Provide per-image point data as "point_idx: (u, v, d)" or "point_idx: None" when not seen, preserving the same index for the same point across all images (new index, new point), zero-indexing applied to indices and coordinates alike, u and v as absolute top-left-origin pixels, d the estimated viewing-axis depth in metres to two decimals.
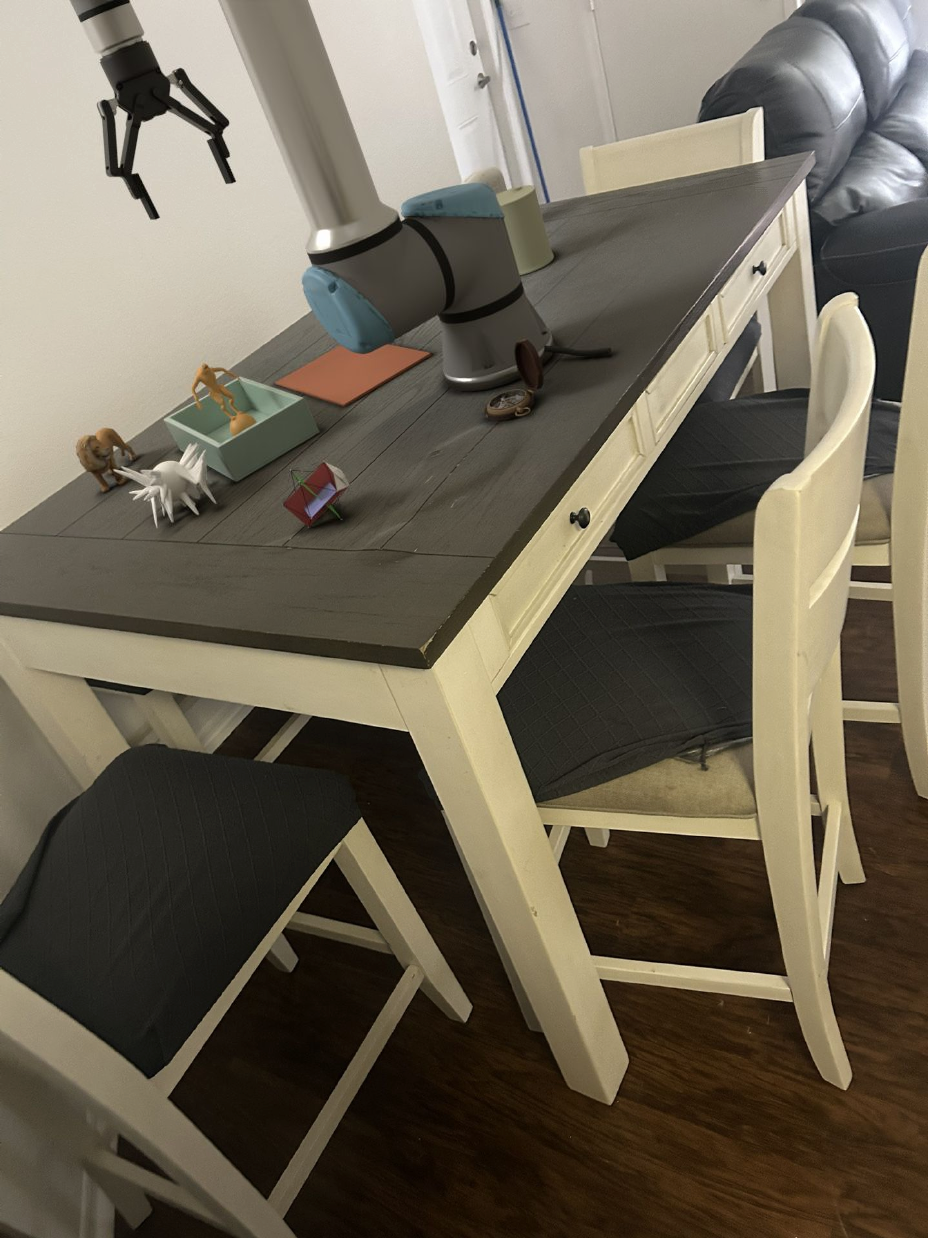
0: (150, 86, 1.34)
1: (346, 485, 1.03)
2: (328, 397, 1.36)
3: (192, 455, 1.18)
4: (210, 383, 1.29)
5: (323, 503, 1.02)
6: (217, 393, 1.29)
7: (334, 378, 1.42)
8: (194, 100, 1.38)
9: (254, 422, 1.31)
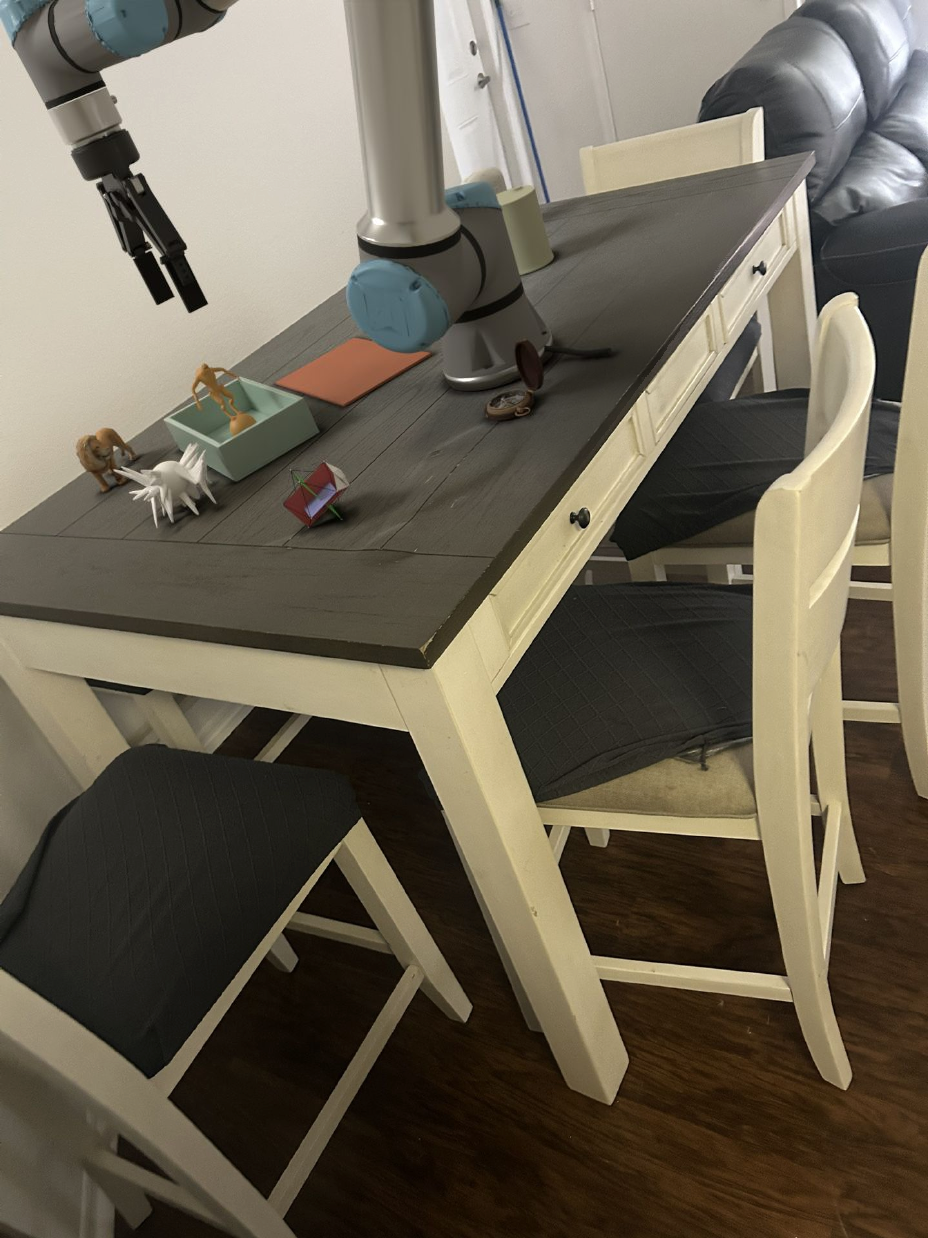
0: (114, 186, 1.14)
1: (346, 485, 1.03)
2: (328, 397, 1.36)
3: (192, 455, 1.18)
4: (210, 383, 1.29)
5: (323, 503, 1.02)
6: (217, 393, 1.29)
7: (334, 378, 1.42)
8: None
9: (254, 422, 1.31)
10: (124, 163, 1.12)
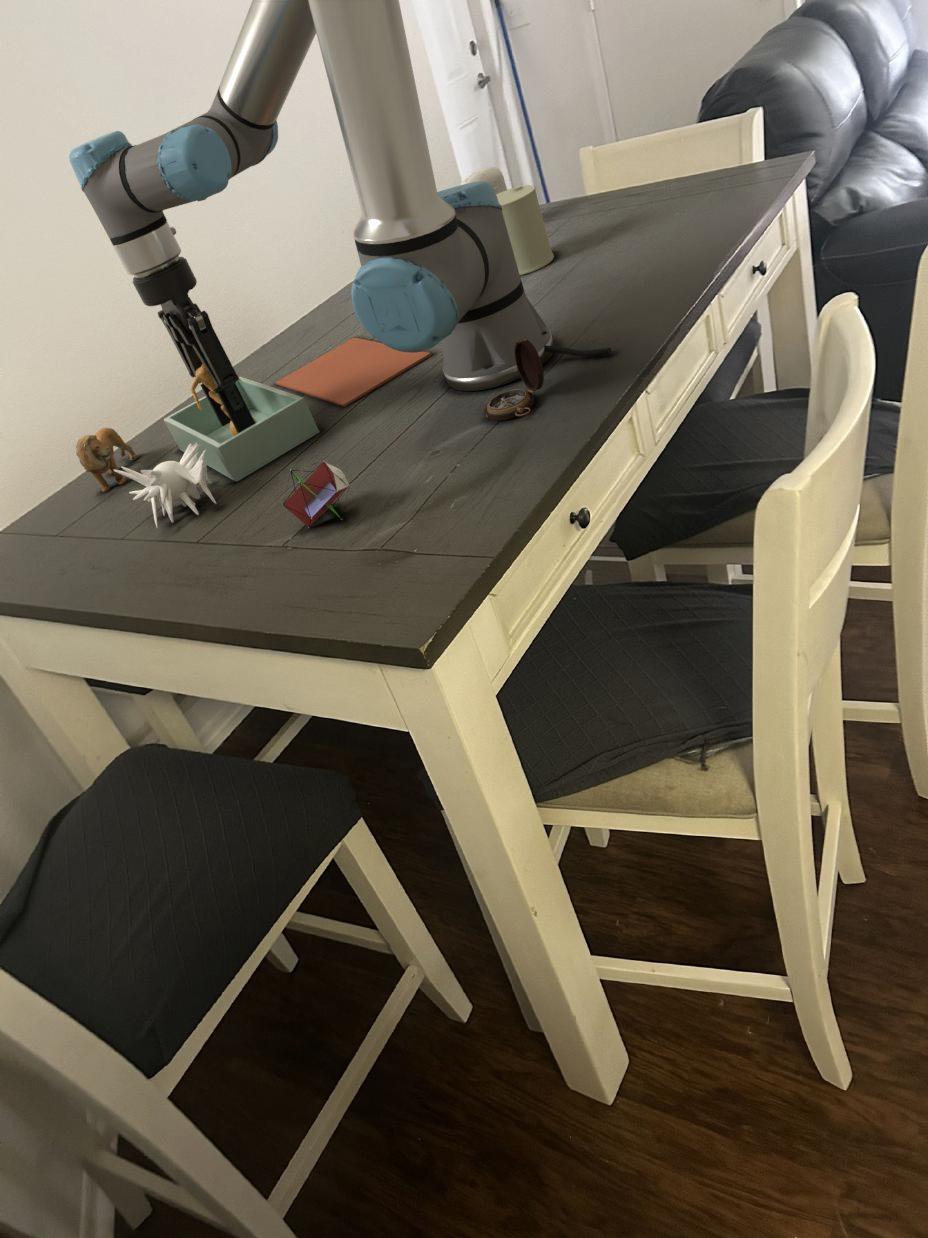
0: (173, 310, 1.21)
1: (346, 485, 1.03)
2: (328, 397, 1.36)
3: (192, 455, 1.18)
4: (210, 383, 1.29)
5: (323, 503, 1.02)
6: None
7: (334, 378, 1.42)
8: None
9: None
10: (183, 290, 1.19)
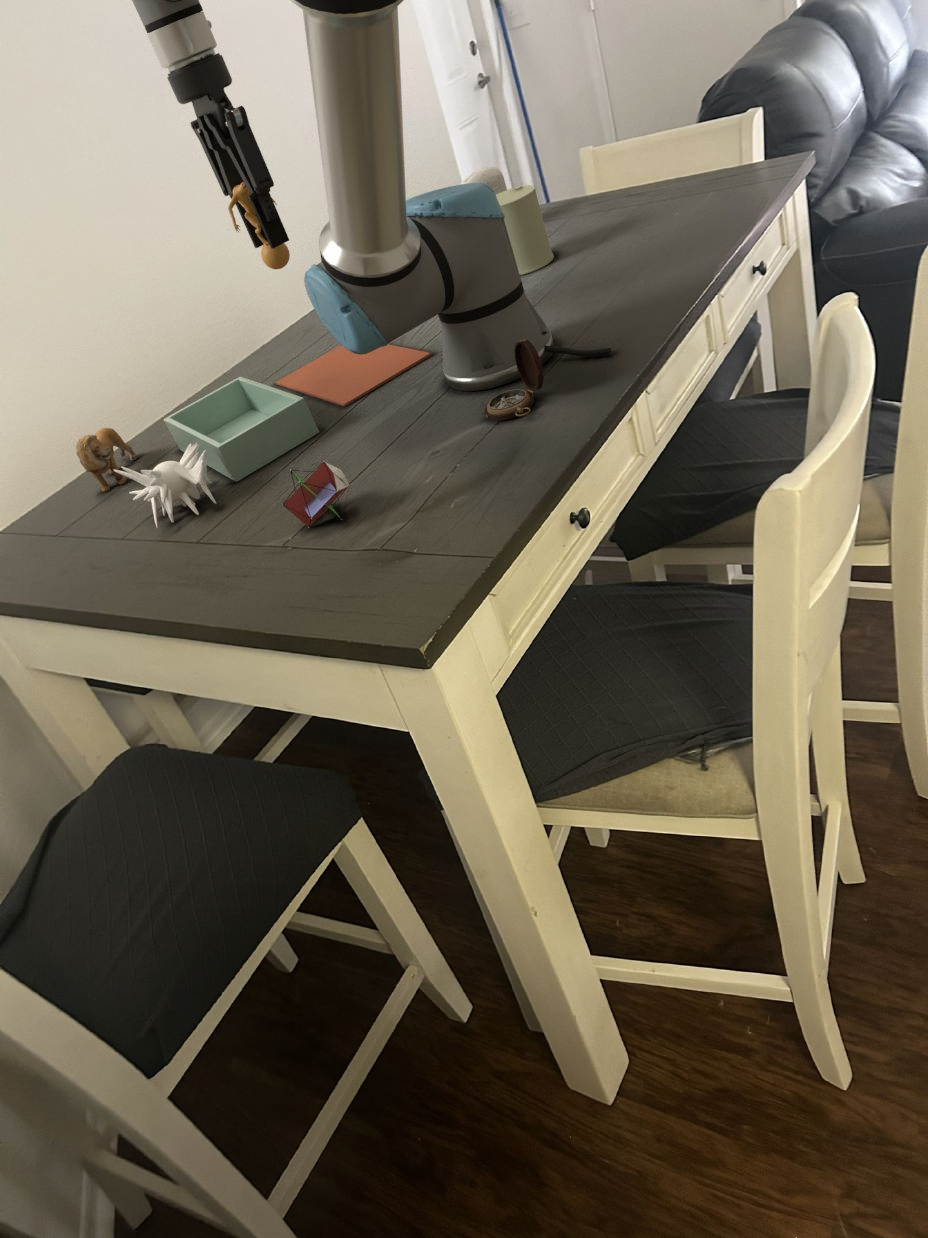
0: (208, 109, 1.19)
1: (346, 485, 1.03)
2: (328, 397, 1.36)
3: (192, 455, 1.18)
4: (247, 204, 1.27)
5: (323, 503, 1.02)
6: (253, 215, 1.28)
7: (334, 378, 1.42)
8: None
9: (287, 250, 1.31)
10: (219, 84, 1.16)
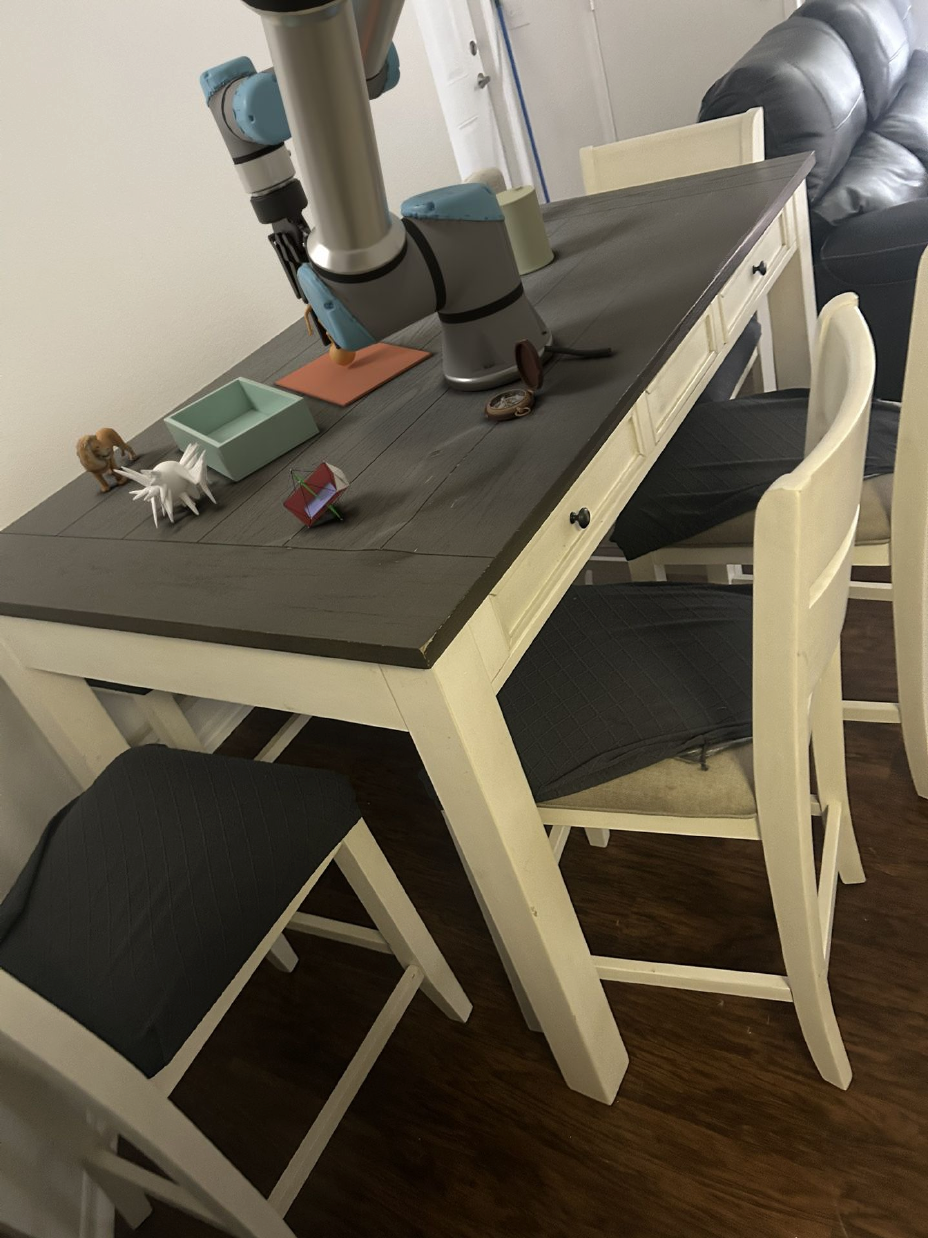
0: (286, 229, 1.30)
1: (346, 485, 1.03)
2: (328, 397, 1.36)
3: (192, 455, 1.18)
4: None
5: (323, 503, 1.02)
6: None
7: (334, 378, 1.42)
8: None
9: None
10: (298, 209, 1.28)
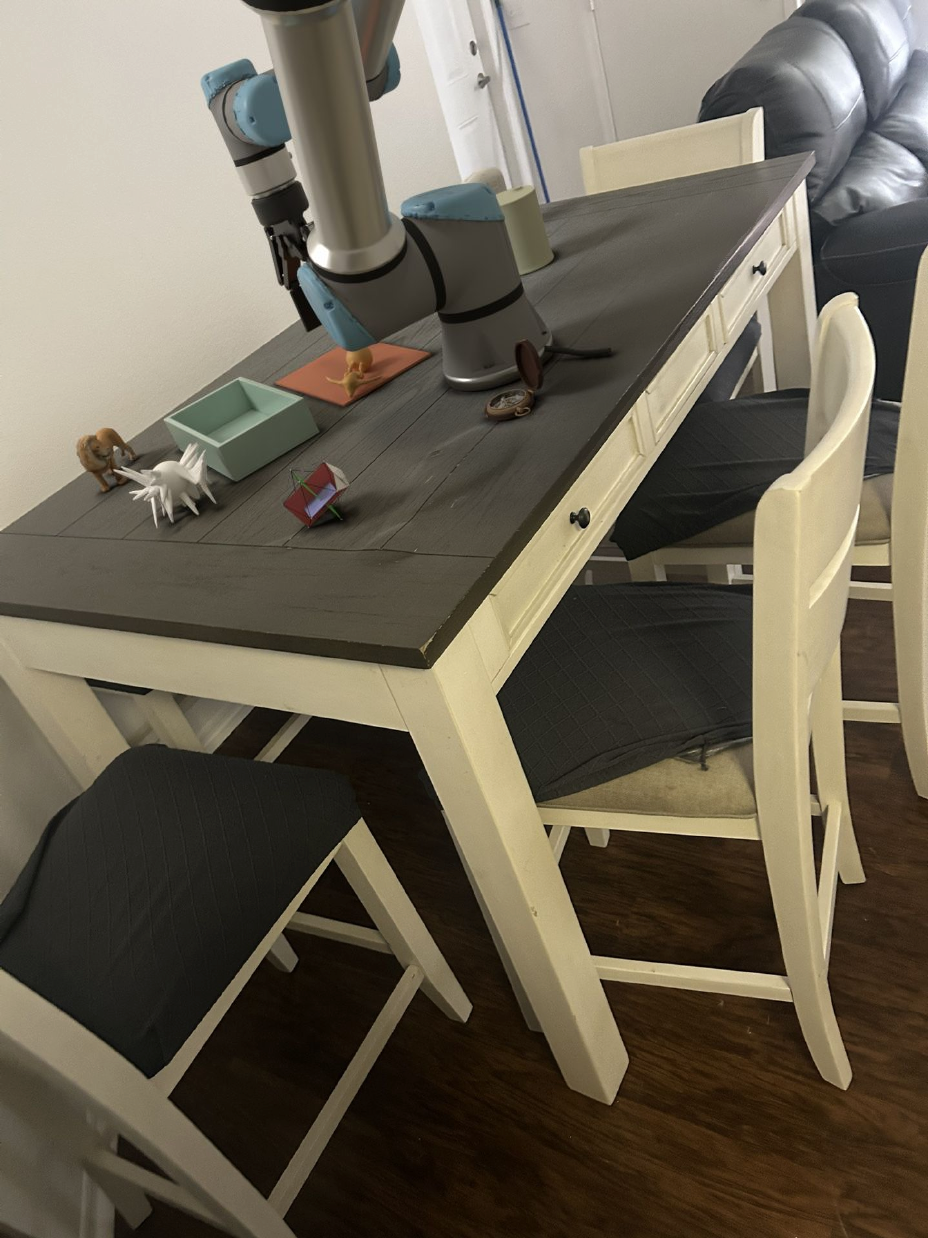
0: (287, 231, 1.30)
1: (346, 485, 1.03)
2: (328, 397, 1.36)
3: (192, 455, 1.18)
4: None
5: (323, 503, 1.02)
6: None
7: (334, 378, 1.42)
8: None
9: None
10: (299, 211, 1.28)
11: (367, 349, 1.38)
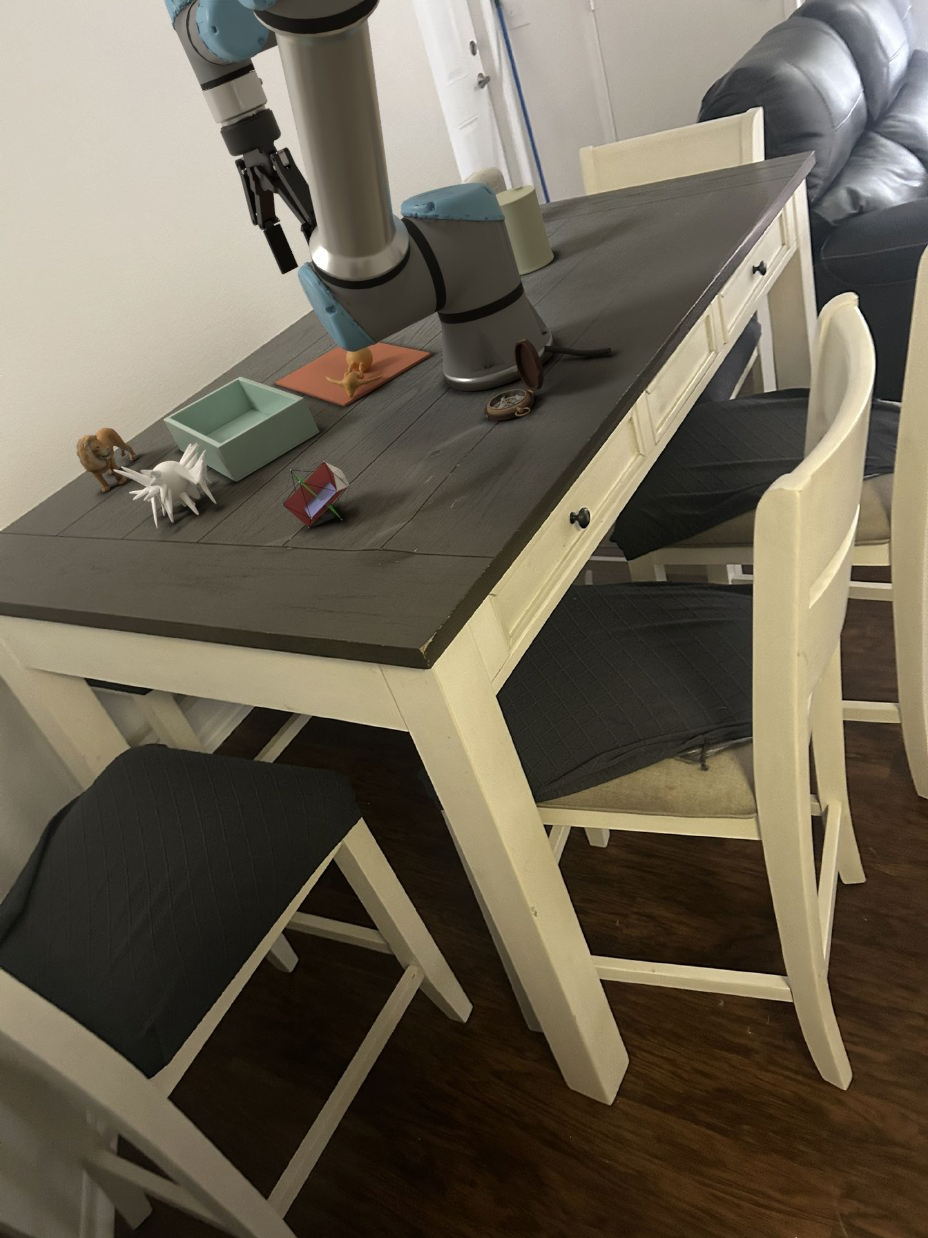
0: (258, 161, 1.25)
1: (346, 485, 1.03)
2: (328, 397, 1.36)
3: (192, 455, 1.18)
4: None
5: (323, 503, 1.02)
6: None
7: (334, 378, 1.42)
8: None
9: None
10: (270, 138, 1.22)
11: (367, 349, 1.38)
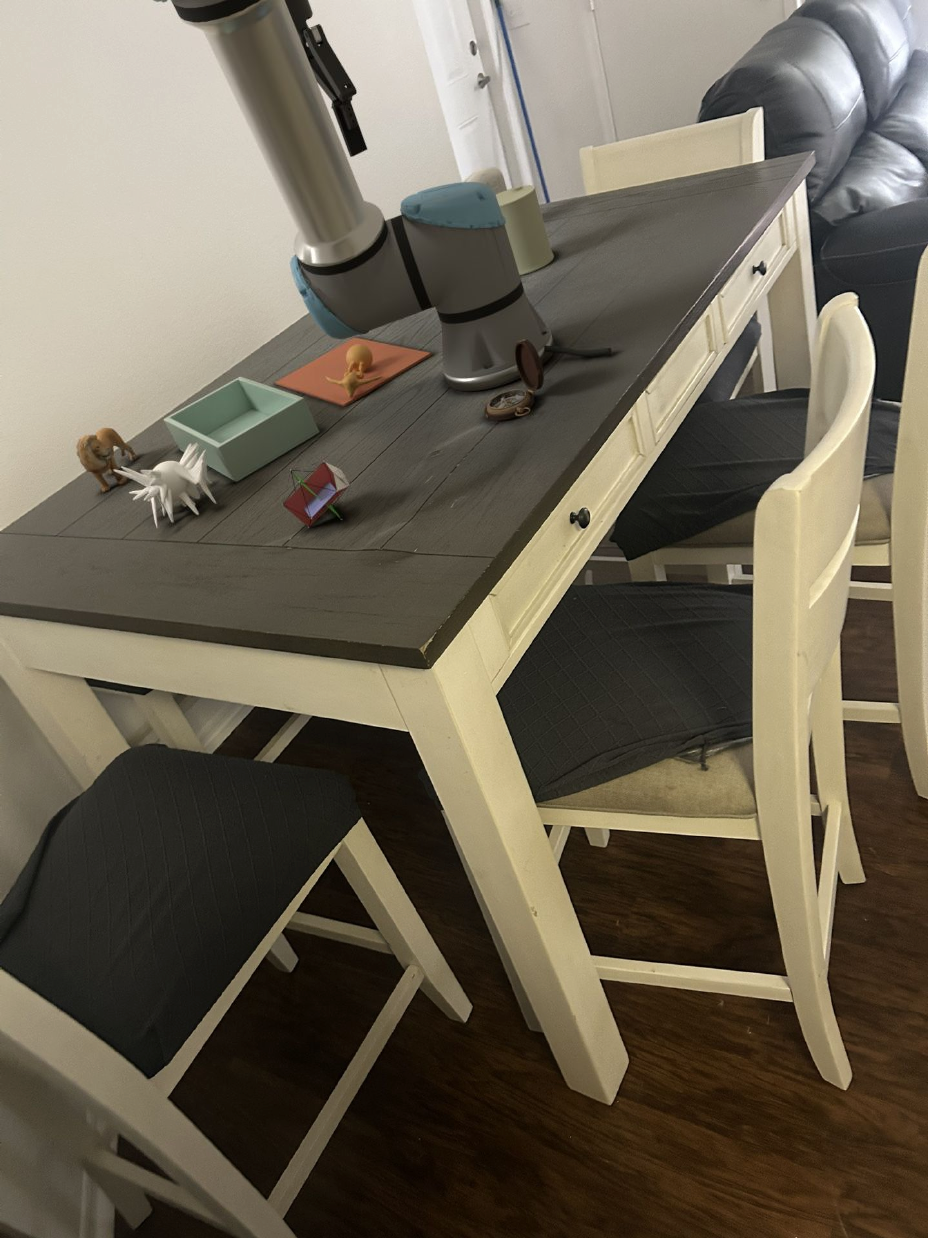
0: None
1: (346, 485, 1.03)
2: (328, 397, 1.36)
3: (192, 455, 1.18)
4: None
5: (323, 503, 1.02)
6: None
7: (334, 378, 1.42)
8: None
9: None
10: (302, 16, 1.27)
11: (367, 349, 1.38)
